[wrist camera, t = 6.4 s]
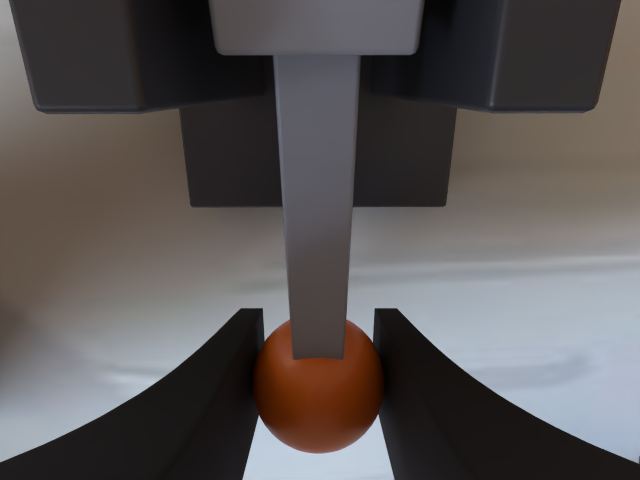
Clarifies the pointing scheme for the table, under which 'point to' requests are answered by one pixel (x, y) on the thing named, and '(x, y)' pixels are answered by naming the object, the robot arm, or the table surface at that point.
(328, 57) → the orange knob lever
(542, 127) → the table surface
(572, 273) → the table surface
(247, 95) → the housing
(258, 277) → the table surface
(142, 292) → the table surface
